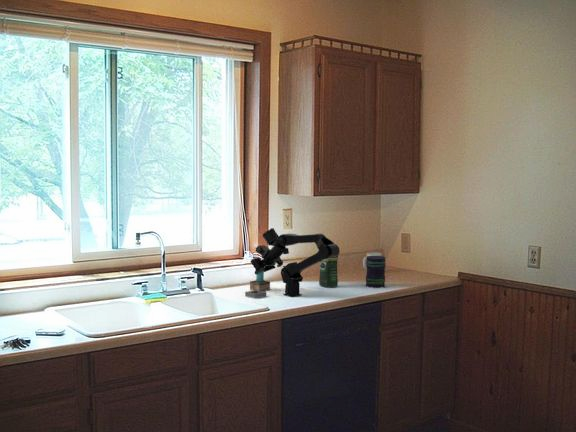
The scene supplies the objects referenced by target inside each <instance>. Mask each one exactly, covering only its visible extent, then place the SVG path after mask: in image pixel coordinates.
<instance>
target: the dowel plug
mask: <svg viewBox="0 0 576 432" xmlns="http://www.w3.org/2000/svg"><path fill="white" fill-rule="evenodd" d="M255 275H256V276H255V277H256V278H255V279H256V282H258V283H262V282H264V280H265V279H264V278H265V277H264V276H265V272H264V271H262V272H260V273H258V274H255Z"/></svg>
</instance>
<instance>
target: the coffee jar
mask: <svg viewBox="0 0 576 432" xmlns="http://www.w3.org/2000/svg"><path fill="white" fill-rule="evenodd" d="M338 260H339V255H338V256H336V257H332V258H328V259H324V260H322V261H320V262H319V265H320V266H319V279H318V281H319V282H318V285H319V286H320V287H324V288H335V287H338V286H339V285H338V284H339V279H338Z"/></svg>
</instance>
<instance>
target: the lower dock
mask: <svg viewBox="0 0 576 432" xmlns="http://www.w3.org/2000/svg"><path fill="white" fill-rule="evenodd" d="M244 297H247V298H251V299H261V298H267V291H259V290H254V291H253V290H248V291H245V293H244Z"/></svg>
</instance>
